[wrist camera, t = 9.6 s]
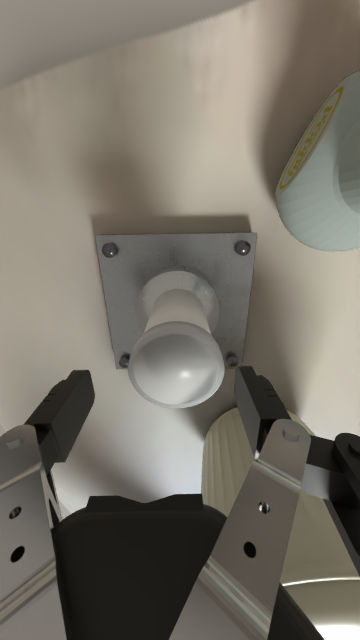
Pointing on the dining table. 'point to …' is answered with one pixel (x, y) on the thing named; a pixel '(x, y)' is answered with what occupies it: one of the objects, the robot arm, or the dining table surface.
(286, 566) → the canister
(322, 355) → the dining table surface
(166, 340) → the duct stub
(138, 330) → the duct flange
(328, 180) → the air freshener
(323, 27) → the dining table surface
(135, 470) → the dining table surface
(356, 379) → the dining table surface
